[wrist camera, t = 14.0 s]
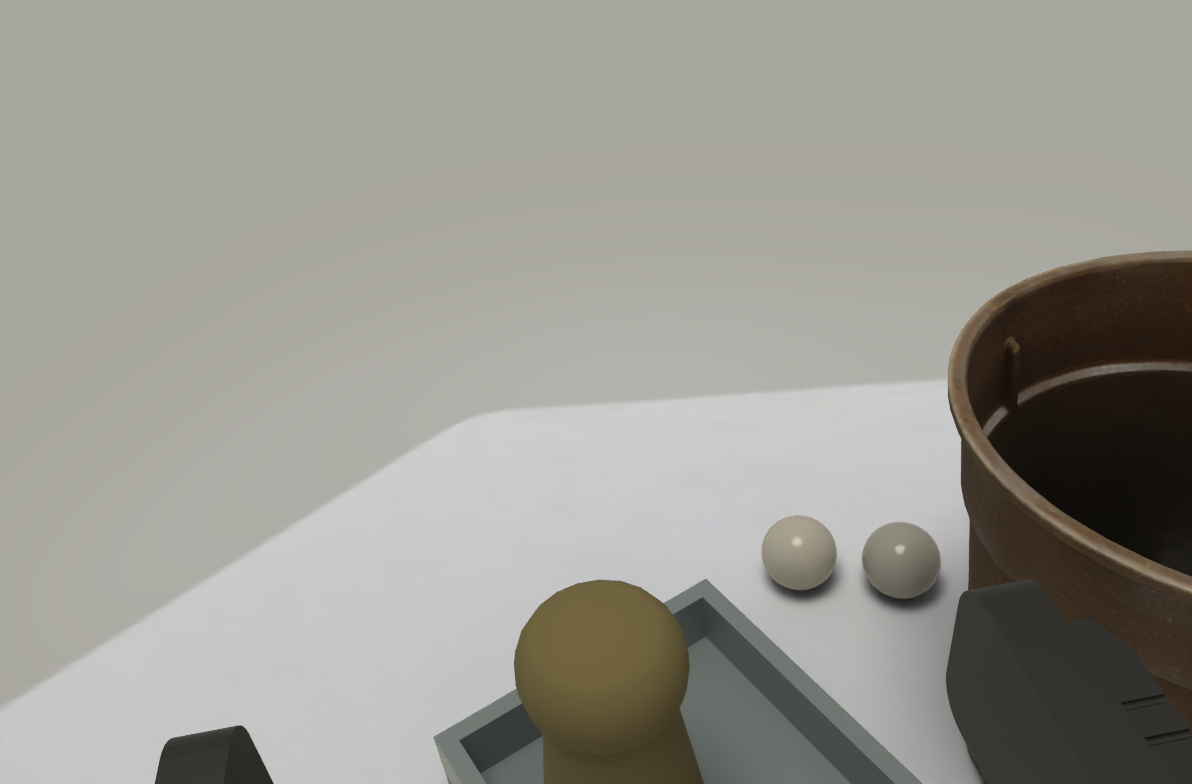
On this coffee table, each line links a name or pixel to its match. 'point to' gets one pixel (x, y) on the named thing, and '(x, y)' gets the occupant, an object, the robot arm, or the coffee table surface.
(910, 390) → the coffee table surface
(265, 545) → the coffee table surface
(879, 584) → the pebble
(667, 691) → the cork
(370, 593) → the coffee table surface
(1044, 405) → the plant pot
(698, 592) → the slate dish
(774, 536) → the pebble
